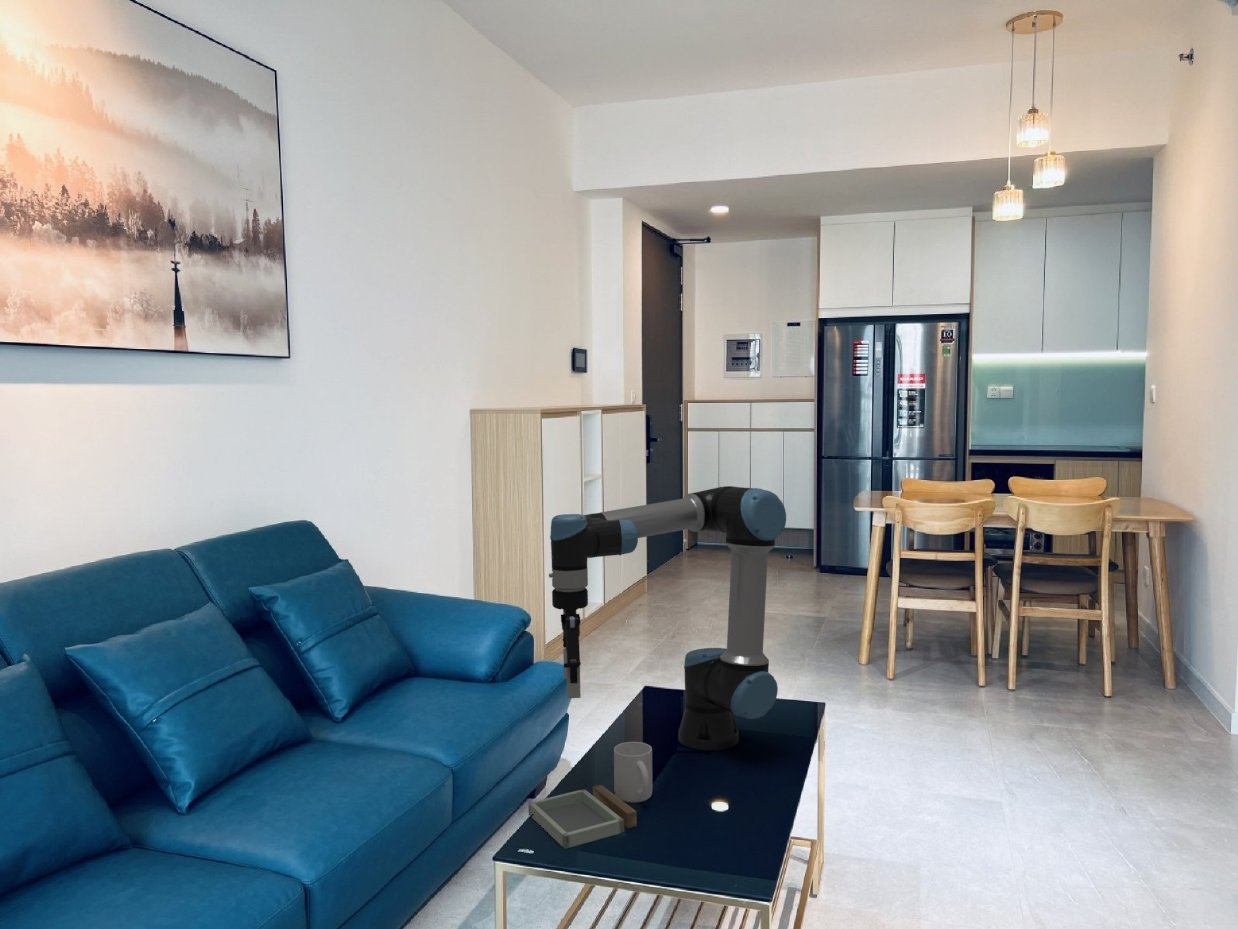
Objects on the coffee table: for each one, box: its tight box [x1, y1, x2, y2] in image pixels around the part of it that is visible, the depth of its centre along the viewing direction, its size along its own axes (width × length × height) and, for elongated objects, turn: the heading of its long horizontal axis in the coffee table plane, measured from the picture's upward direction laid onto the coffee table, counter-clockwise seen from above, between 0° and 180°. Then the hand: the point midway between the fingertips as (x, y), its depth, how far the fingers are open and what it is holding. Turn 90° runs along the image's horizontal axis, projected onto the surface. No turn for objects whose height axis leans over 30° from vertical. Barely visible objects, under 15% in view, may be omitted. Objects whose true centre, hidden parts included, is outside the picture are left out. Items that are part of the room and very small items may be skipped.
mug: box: [613, 741, 653, 804], centre depth 188 cm, size 12×8×10 cm
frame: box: [528, 788, 625, 850], centre depth 177 cm, size 13×17×2 cm
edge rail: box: [592, 784, 638, 829], centre depth 182 cm, size 2×15×3 cm, turn 29°
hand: (571, 687), depth 185 cm, fingers open, 13 cm apart
